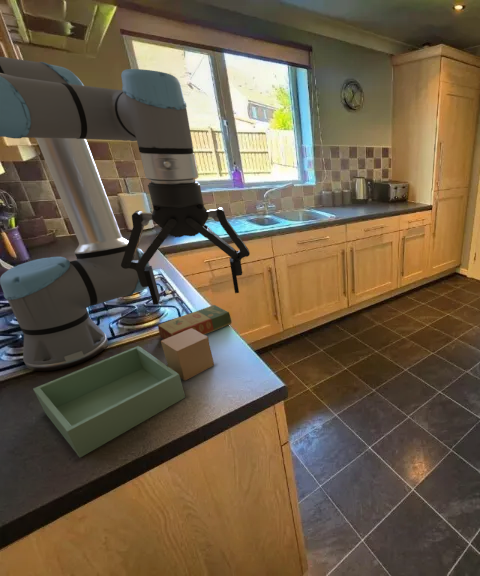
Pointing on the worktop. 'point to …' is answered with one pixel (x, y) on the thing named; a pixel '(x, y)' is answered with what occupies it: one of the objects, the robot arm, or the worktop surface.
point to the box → (188, 353)
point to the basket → (109, 398)
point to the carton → (196, 322)
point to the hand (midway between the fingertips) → (198, 295)
